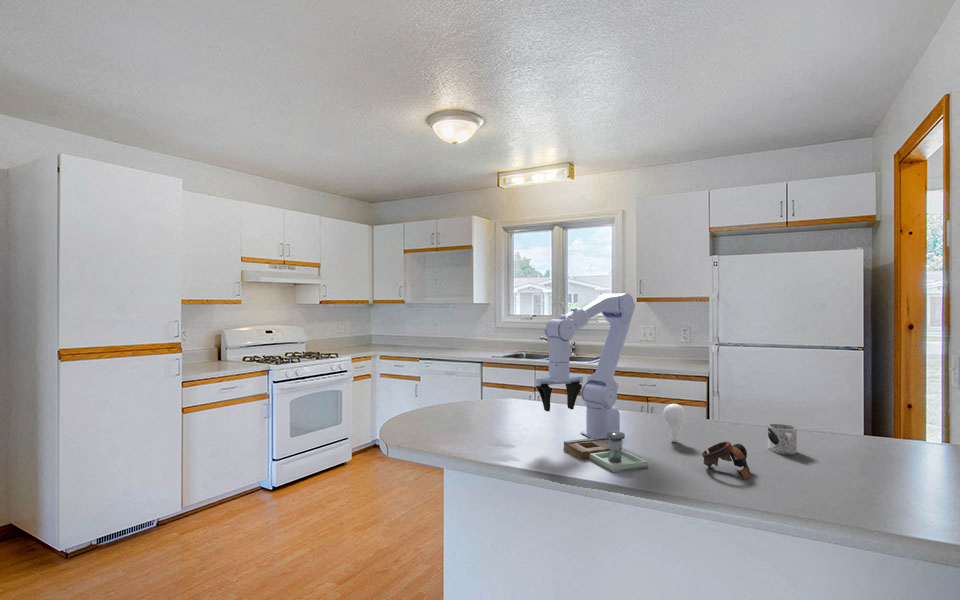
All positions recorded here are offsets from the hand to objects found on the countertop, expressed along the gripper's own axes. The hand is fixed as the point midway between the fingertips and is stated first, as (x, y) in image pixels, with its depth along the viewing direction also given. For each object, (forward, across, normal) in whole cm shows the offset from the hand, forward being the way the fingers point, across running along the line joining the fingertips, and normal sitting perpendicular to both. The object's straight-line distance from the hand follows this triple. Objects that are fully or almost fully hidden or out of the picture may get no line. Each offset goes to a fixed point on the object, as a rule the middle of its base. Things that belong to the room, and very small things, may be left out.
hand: (558, 409), depth 138 cm
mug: (+10, -54, +27) cm, 61 cm away
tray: (+10, -6, +19) cm, 22 cm away
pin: (+9, -6, +18) cm, 21 cm away
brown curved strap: (+10, -28, +33) cm, 44 cm away
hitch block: (+10, -4, +9) cm, 14 cm away
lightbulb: (+10, -33, +9) cm, 36 cm away
